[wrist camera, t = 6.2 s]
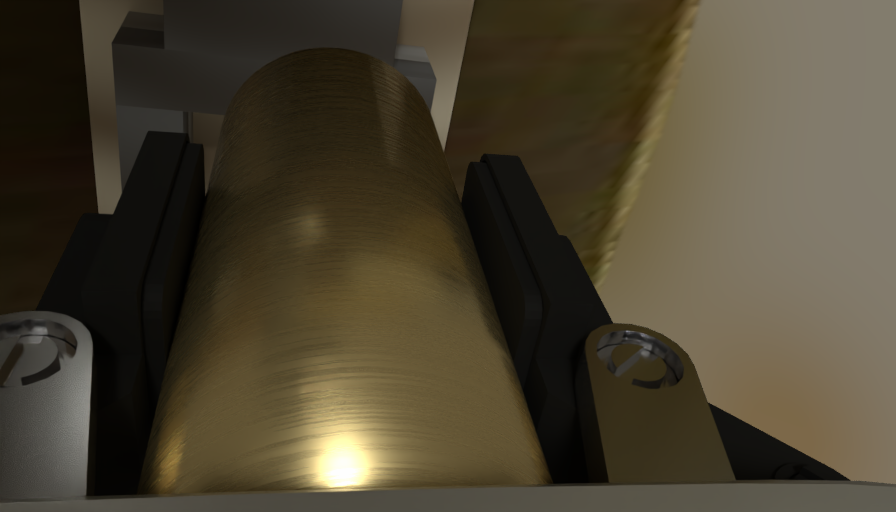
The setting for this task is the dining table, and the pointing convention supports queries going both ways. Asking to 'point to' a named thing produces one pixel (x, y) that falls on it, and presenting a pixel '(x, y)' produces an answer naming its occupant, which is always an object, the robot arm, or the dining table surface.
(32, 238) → the dining table surface
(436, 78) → the gray stepped fixture base
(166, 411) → the brass pin
